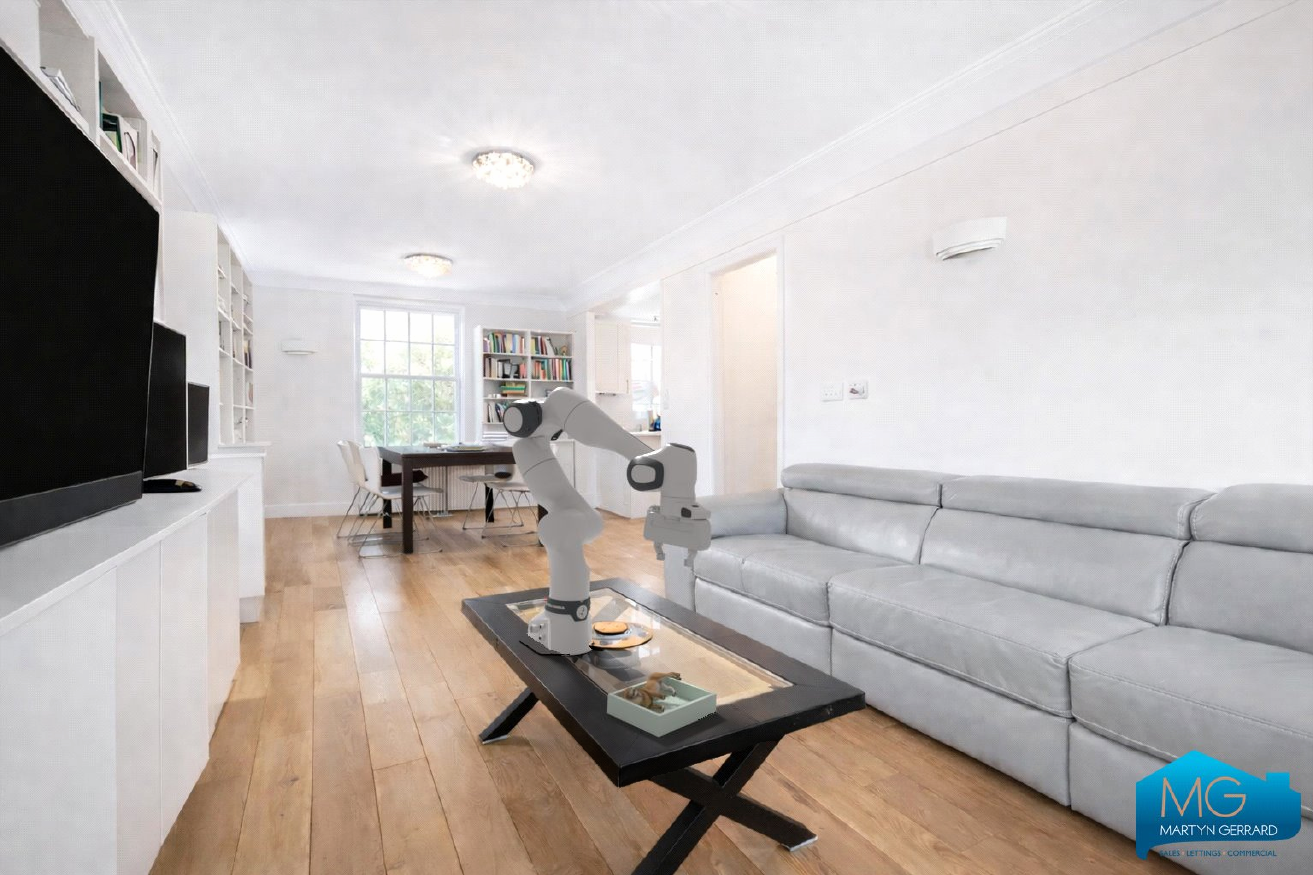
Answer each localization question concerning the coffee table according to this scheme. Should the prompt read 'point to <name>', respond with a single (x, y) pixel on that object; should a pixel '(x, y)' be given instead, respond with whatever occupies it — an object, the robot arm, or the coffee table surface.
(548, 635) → the robot arm
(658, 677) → the lion figurine
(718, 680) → the coffee table surface
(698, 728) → the coffee table surface
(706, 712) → the box
